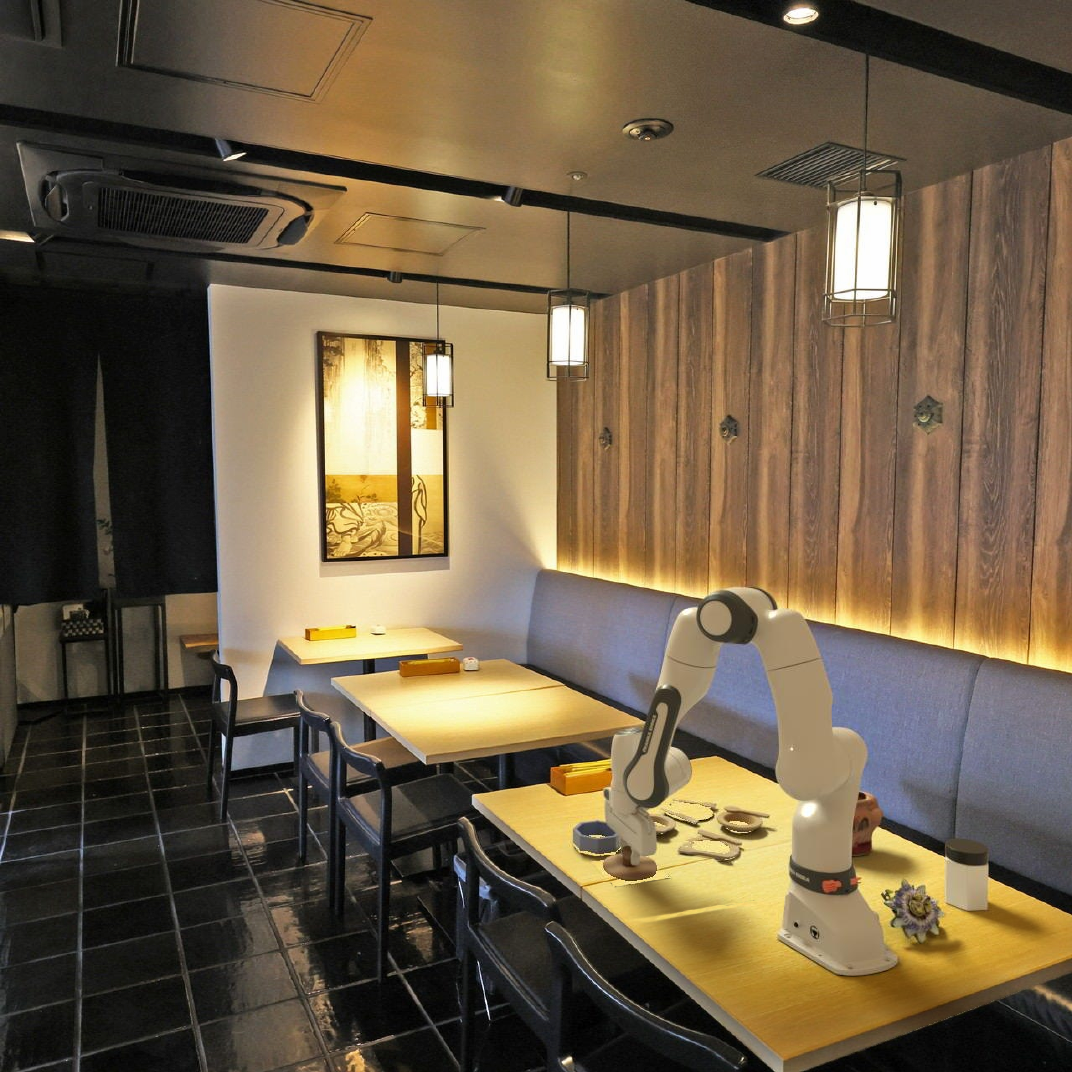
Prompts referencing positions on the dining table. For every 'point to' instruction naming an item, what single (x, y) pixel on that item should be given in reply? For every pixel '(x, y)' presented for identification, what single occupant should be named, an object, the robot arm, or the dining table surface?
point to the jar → (966, 874)
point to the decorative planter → (865, 823)
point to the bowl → (592, 843)
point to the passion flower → (914, 910)
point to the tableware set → (723, 819)
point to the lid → (629, 866)
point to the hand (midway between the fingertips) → (629, 859)
